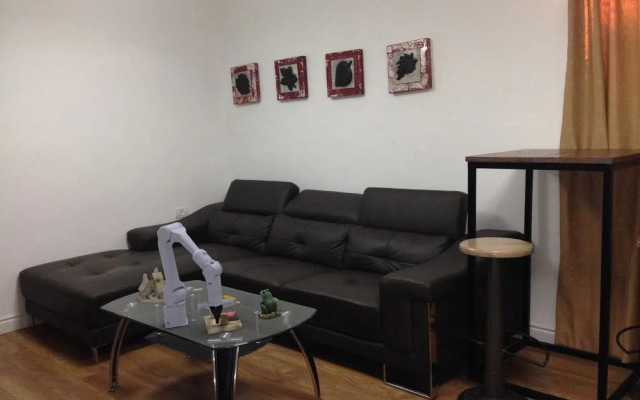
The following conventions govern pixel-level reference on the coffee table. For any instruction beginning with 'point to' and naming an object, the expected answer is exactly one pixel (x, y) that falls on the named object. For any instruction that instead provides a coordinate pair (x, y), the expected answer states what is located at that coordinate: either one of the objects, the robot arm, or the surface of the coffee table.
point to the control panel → (215, 328)
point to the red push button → (230, 314)
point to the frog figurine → (268, 306)
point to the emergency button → (229, 304)
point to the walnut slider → (224, 319)
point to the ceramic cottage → (152, 288)
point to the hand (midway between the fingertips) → (217, 322)
